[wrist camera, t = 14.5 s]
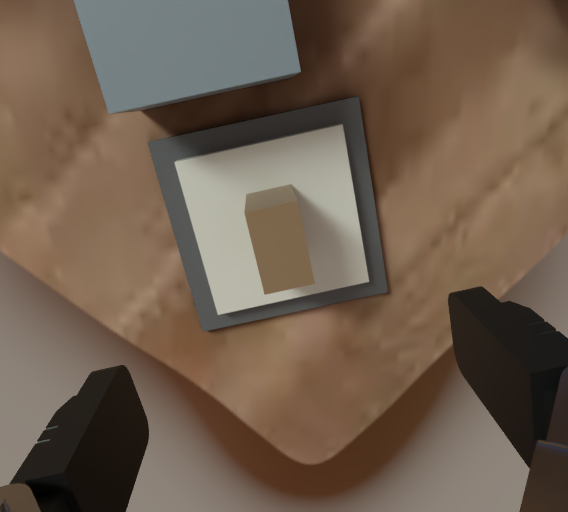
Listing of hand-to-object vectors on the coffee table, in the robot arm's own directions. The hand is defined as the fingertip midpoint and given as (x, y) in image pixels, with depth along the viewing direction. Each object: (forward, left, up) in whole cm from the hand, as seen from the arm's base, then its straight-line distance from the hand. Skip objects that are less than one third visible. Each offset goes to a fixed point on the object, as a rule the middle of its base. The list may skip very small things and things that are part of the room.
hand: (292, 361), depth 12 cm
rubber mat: (0, +2, -23) cm, 23 cm away
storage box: (+2, -12, -23) cm, 26 cm away
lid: (0, +2, -22) cm, 22 cm away
